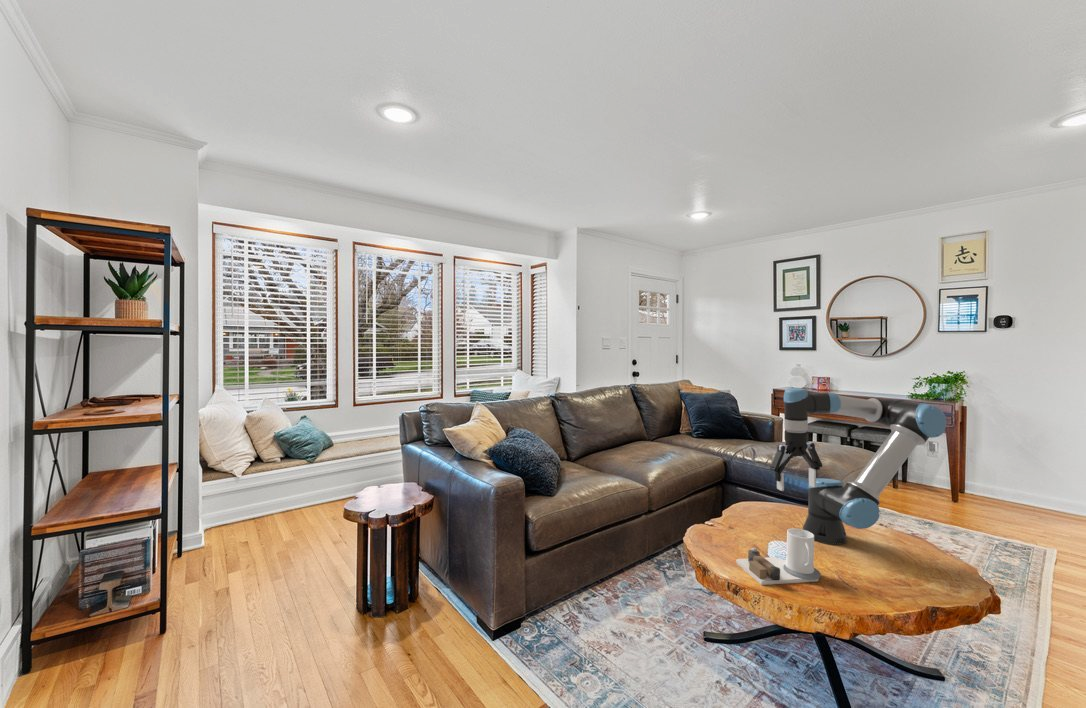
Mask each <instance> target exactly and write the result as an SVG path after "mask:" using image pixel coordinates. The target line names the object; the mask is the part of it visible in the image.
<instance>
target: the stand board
mask: <svg viewBox="0 0 1086 708" xmlns="http://www.w3.org/2000/svg"><path fill="white" fill-rule="evenodd" d="M750 550H751V551H752V552H757V551H758V548H756V547H751V548H750ZM776 557H777V556H770V557H769V556H768V557H764V558H765V559H766V560H767V561H769V562H770V563H771V564H773V565H774V566H776V567H778V568H780V580H773V579H771V578H770V577H769V576H768V575H767V569H766V568H765V567H763V566H762V565H761V564H760V563H758V562H757V561H748V558H737V559H736V560H735V563H736V564H737V565H738V566H739V567H740V568H741V569H743V570H744V571H745V572H746V573H747V574H749V576H751V577H752V578H753V579H754V580H755V581H756V582H757V583H758V584H760V585H761V586H765V585H767V586H769V585H778V584H779V585H780V584H781V585H784V584H795V583H796V584H797V583H798V584H799V583H811V582H819V580H820V579H821V577H822V574H821V572H820V570H819V569H817V568H816V567H814V572H813V573H811V574H801V573H797V572H794V571H792V570H790V569H788V568H787V567H786V565H785V563H786V560H782V559H779V558H776Z"/></svg>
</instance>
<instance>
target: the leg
mask: <svg viewBox="0 0 1086 708" xmlns="http://www.w3.org/2000/svg"><path fill="white" fill-rule="evenodd" d="M747 552H748V554H747V555H748V557H747V559H748V561H757V562H758V563H760V564H761V565H762V566H763V567H765V568H766V569H767V575H768V576H769V577H770V578H771V579H773V580H780V568H778V567H776V566H774V565H773V564H771V563H770V562H769V561H767V560H766V559H765V558H766V557H764V556H763V555H761V553H760V551H758V550H757V552H752V551H751V549H749V550H748V551H747Z"/></svg>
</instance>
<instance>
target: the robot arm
mask: <svg viewBox="0 0 1086 708" xmlns="http://www.w3.org/2000/svg"><path fill="white" fill-rule="evenodd" d="M783 407H784V408H783V409H784V410H783V412H784V414H783V415H784V416H783V417H784V419H783V421H784V440H785V444H780V443H779V444H777V448H776V453H775V455H774V458H773V460H772V462H771V465H770V467H769V470H770V471H772V472H774V473H775V474H774V475H775V477H774V478H775V482H776V489H777V490H779V491H781V492H784V491H785V478H784V477H785V476H784V475H785V473H784V472H783V471H784V469H785V468H786V466H788V463H789V462H790V460H792V459H793V458H796V457H802V458H803V459H804V461H805V462H806V463H807V465H809V467H808V486H807V488H808V498H807V499H808V505H807V506H808V507H807V509H808V511H807V516H806V518H805V521H804V524H803V526H802V530H806V531H809V532H811V533H812V534H814V542H815V541H816V542H818V543H823V544H828V545H842V544H846V542H847V537H848V535H847V533H846V529H845V526H844V524H845V525H846V526H849V527H852V528H855V529H860V530H863V529H868V528H871V527H873V526H874V525H875V524H876V523H877V521H878V520H879V518H880V516H881V515H880V512H881V511H880V507H879V505H880V504H881V500H880V498H879V497H880V495H881V493H883V491H884V490H885V488H886V487H888V484H889V483H890V482H891V480H892V479H893V478H894V477H895V475H896V474H897V473H898V472H899V470H900V469H901V467H902V466H903V464H904V463H905V462H906V461H907V459H908V458H909V456H910V455H912V453H913V452H914V450H915V448H916V447H917V446H921V445H922V446H923V445H925V444H926V442H927V441H928V440H929V438H930V439H932V438H937V437H938V438H939V437H941V436H942V435H943V434H944V433H945V431H946V428H947V420H946V415H945V413H944V411H943V410H942V409H941V408H939V407H938V406H937V405H933V404H928V403H925V402H922V403H921V402H915V401H909V400H903V399H887V398H886V399H885V398H873V397H870V398H869V399H866V398H859V397H852V396H846V395H839V394H837V393H835V392H819V391H813V390H807V389H806V388H801V387H799V388H798V387H791V388H786V389H785V390H784V393H783ZM817 414H818V415H819V414H821V415H822V414H823V415H824V414H827V415H828V414H835V415H840V416H846V417H854V418H860V419H865V420H866V421H867V422H870V423H874V424H875V423H876V424H880V425H883V426H884V427H889V428H890V431H891V432H890V433H889V434H888V436H887V437H886V438H885V440H884V441H883V442H882V444H880V446H879V447H878V449H877V451H875V453H874V455H873V456H872V457H871V458H870V460H869V461H868V462H867V464H866V465H865V466H864V467H863V469H862V471H860V473H859V474H858V475H857V477H856V479H855V480H854V481H847V482H846V484H845V485H844V483H843V481H841V480H839V479H835V478H833V479H832V478H821V477H819V478H817V477H818V471H820V469H821V468H823V462H822V461H821V458H820V457H819V456H820V455H818V452H817V450H816V445H815V443H814V442H811V441H809V435H808V434H809V433H808V430H809V427H808V426H809V424H808V423H809V421H808V420H809V419H808V418H809V415H817ZM843 523H844V524H843Z"/></svg>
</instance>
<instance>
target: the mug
mask: <svg viewBox="0 0 1086 708" xmlns="http://www.w3.org/2000/svg"><path fill="white" fill-rule="evenodd" d="M814 557H815V540H814V534H812V533H811V532H809V531H806V530H803V528H802V529H800V528H793V527H792V528H788V529H787V530H786V563H785V565H786V567H787V568H788V569H790V570H792V571H794V572H797V573H801V574H811V573H813V572H814V568H815V566H814V562H815V561H814V559H815V558H814Z"/></svg>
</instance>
